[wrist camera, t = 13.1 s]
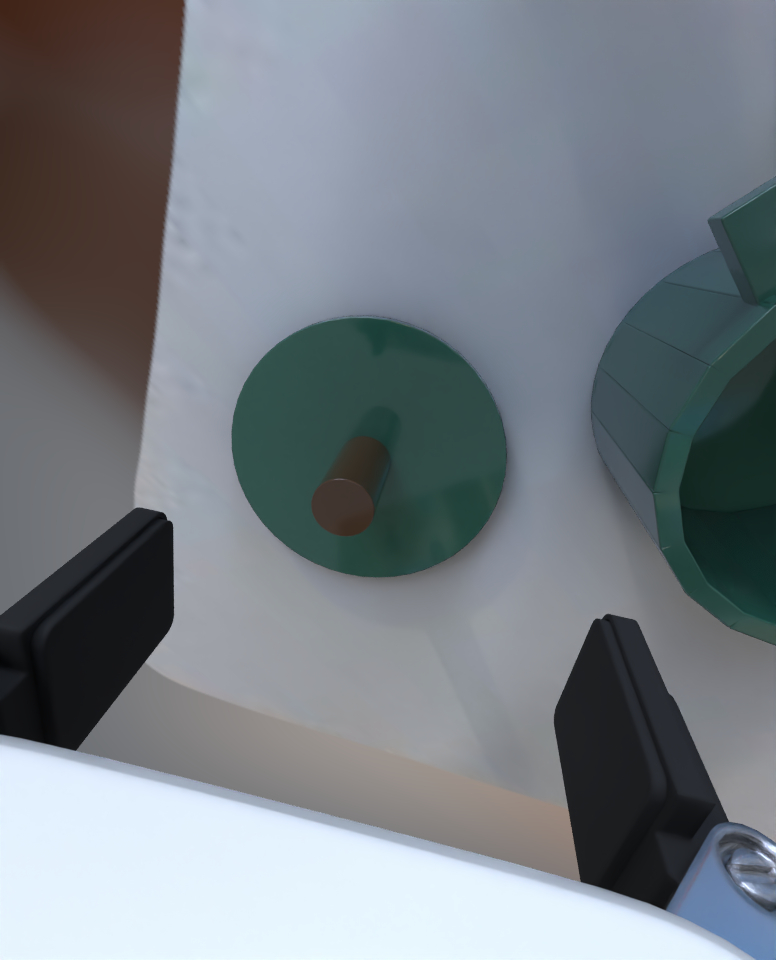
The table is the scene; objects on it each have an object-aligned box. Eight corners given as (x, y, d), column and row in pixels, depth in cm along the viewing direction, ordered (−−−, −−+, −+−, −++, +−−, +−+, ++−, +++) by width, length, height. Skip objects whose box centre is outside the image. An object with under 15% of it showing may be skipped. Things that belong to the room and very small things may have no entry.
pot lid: (403, 249, 24) (382, 251, 18) (556, 493, 28) (580, 561, 22) (187, 413, 29) (114, 457, 23) (342, 602, 33) (315, 682, 27)
